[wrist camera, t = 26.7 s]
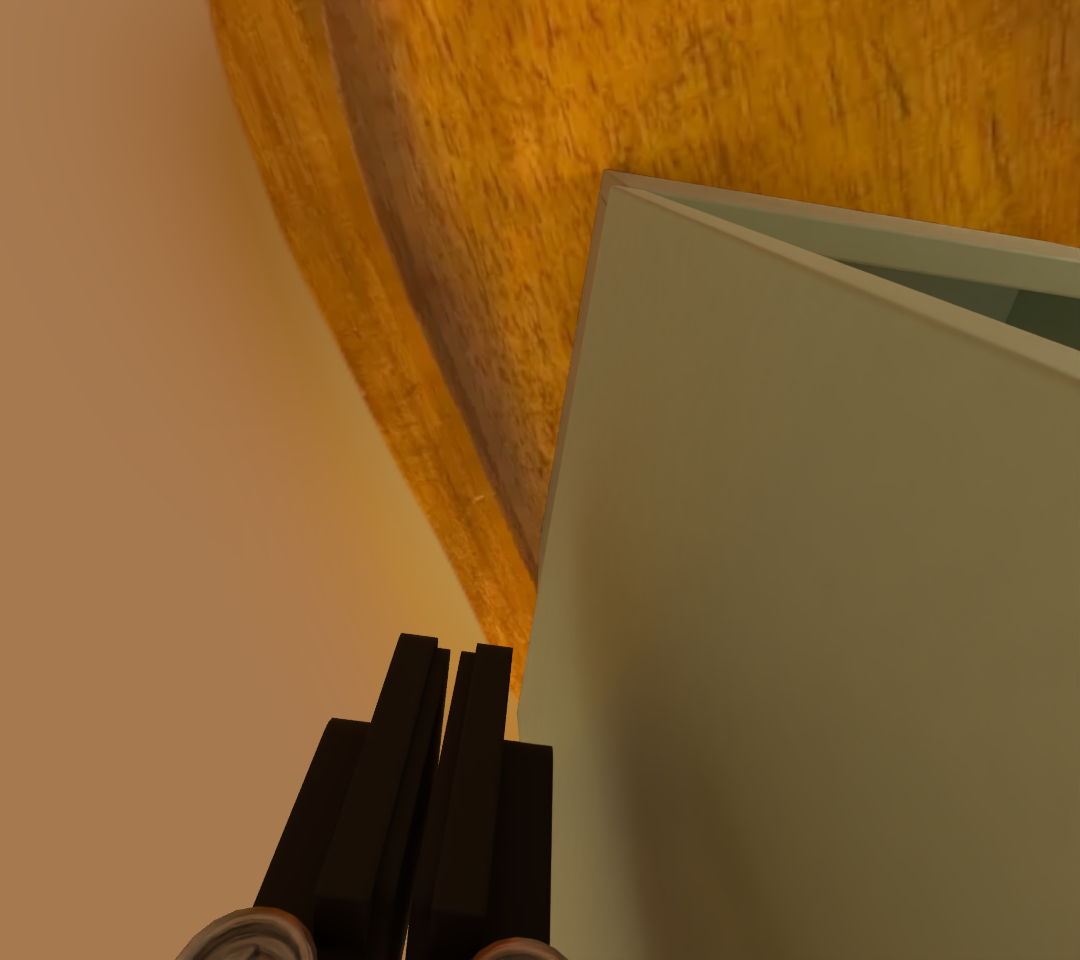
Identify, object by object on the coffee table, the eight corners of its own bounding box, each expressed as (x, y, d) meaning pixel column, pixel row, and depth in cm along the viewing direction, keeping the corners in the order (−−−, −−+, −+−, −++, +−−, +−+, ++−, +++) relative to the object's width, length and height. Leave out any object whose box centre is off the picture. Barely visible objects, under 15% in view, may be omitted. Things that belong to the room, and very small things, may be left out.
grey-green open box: (1048, 241, 24) (1323, 298, 16) (894, 588, 31) (1027, 770, 22) (603, 169, 24) (626, 185, 15) (540, 538, 30) (530, 702, 21)
